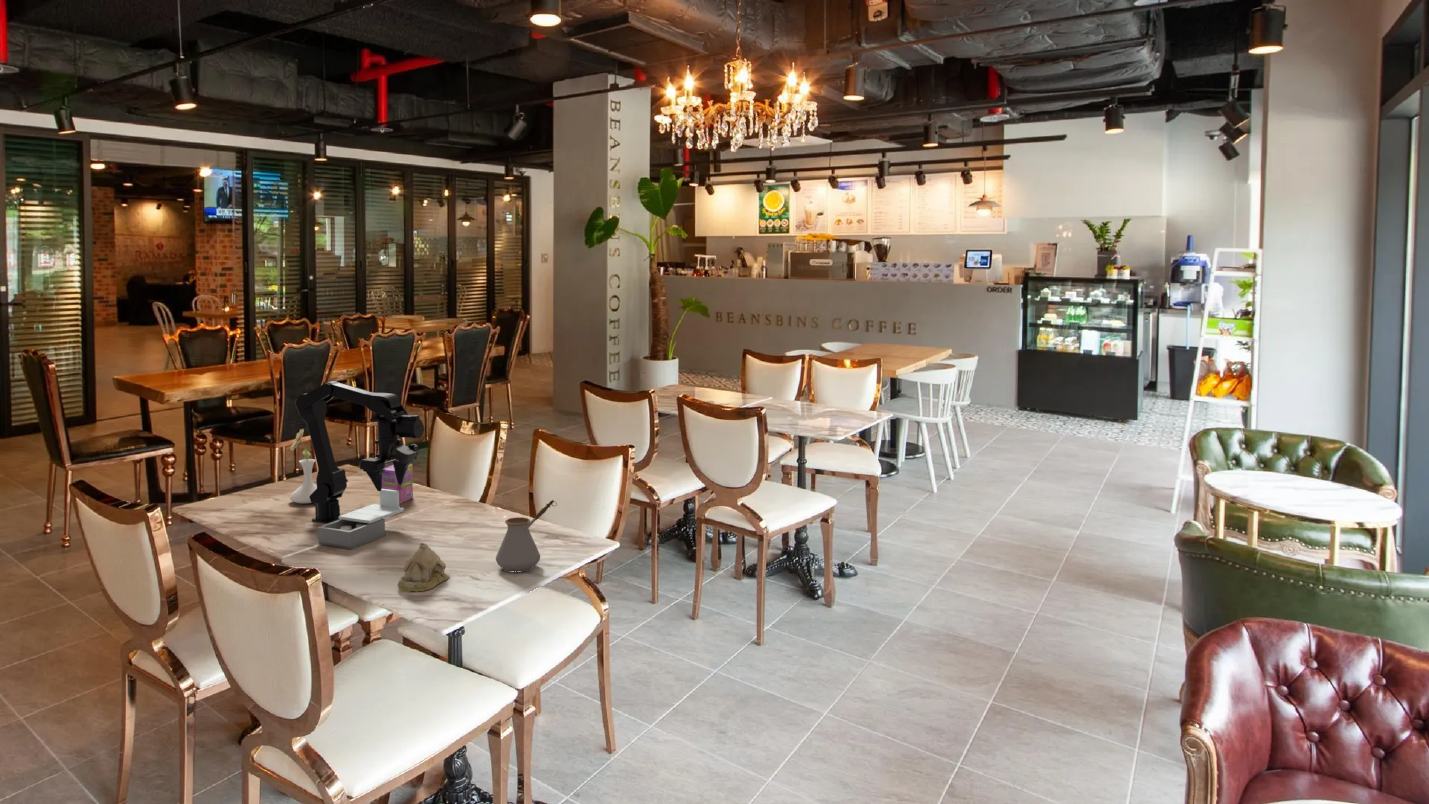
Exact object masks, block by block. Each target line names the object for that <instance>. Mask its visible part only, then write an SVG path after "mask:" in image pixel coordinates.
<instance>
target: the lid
mask: <svg viewBox="0 0 1429 804" xmlns="http://www.w3.org/2000/svg"><path fill="white" fill-rule="evenodd" d="M404 511H405V508H404V507H400V504H399V491H397V490H389V489H381V491H379V504H377V503H372V504H370V505H366V506H364V507H361V508H358V509H356V510H352V511H350V512H346V513H344V514H340V516H339V519H338V520H340V519H342V520H349V521H356V522H363V523H373V522H375V521H378V520H381V519H385V518H388V517H391V516H393V515H396V514H399V513H401V512H404Z"/></svg>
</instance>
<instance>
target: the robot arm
mask: <svg viewBox="0 0 1429 804" xmlns="http://www.w3.org/2000/svg"><path fill="white" fill-rule="evenodd" d="M333 398H336V399H340V400H343V401H347V402H351V403H355V404H358V405H361V406H364V407H365V408H367V409H368V410H369V411H371V412H372V413H374V416H373V417H371V418H369V419H370V422H371V423H373V422H375V423H376V425H377V439H376V440H374V444H375V445H377V447H378V448H377V449H378V452H377V453H375V454H374V456H375V457H367V458H364V459H362V460H360V462H359V470H362V471H363V472H365V473H366V474H367V476H368V477H369V479H370V481H371V482H372V485H373V486H374V487H375V489H376V491H377V492H380V491H381V489H382V474H383V473H384V471H385V470H386V469H384V468H386V467H385V466H386V464H390V463H392V465H394V470H395V474H396V478H397V481H398V484H402V482H403V479H404V476H405V473H406V470H407V467H408V466H409V465H410V464H413V463H414V461H415V460H417V457H418V456H419V447H418V445H417V444H416V443H412V444H410V445H404V444H403V440H402V439H401V438H405V439H407V438H408V439H420V438H422V436H424V435H423V434H424V432H425V431H424V430H425V425H424V422H423V421H422V419H420V415H419V414H413V415H410V414H409V413H408V412H407V410H406V409H405V407H404V406H403V405H402V402H401V401H400V399H399V396H398V395H397V394H395V393H388V392H371V391H369V390H365V389H361V388H359V387H355V386H351V385H348V384H343V383H342V382H341V383H340V382H339V381H335V380H331V381H327V382H324V383H323V384H321V385H320V386H319V387H317V388H315V389H313V390H311V391H310V392H307V393H302V394H300V395H298V396H297V397H296V400H295V407H296V410H297V413H298V414H299V416H300V417H301V419H302V420H303V421H304V422H305V423H306V426H307V428H308V429H307V430H308V433H309V436H310V437H309V438H310V441H311V444H312V448H313V452H314V457H315V460H316V461H315V462H316V465H317V468H318V469H317V474H316V479H315V482H316V484H315V485H317V489H316V490H315V491H314V492H313V493H312V494H311V495H310V496H309V497H310V500H311V503H310V504H314V506H315V507H314V509H315V511H314V512H315V513H314V514H315V517H313V518H311V521H312V522H318V523H325V524H329V523H332V522H335V521H337V520H340V519H339V516H341V511H340V510H341V505H340V504H339V501H340V500H339V498H342V497H343V493H344V492H345V491H346V489H347V487H348V485H347V484H348V483H347V482H349V480H348V479H347V476H346V470H345V469H344V468H343V469H340V468H339V467H338V466H337V465H336V461H335V457H334V453H333V449H332V446H331V441H330V437H329V433H328V430H327V425H326V421H325V420H326V415H327V411H328V407H327V403H328V402H329V401H331V400H332V399H333Z"/></svg>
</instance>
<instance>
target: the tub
mask: <svg viewBox="0 0 1429 804" xmlns="http://www.w3.org/2000/svg"><path fill="white" fill-rule="evenodd" d="M317 531H318V532H317V535H318V546H324V545H326V546H325V547H331V548H339V549H343V548H345V549H344V550H353V549H356V548H358V547H360V545H361V546H363V545H365V544H369V543H370V542H373V541H375V539H376V540H378V539H380V538H383V537H385V536H386V520H385V518H383V519H381V520H378V521H375V522H373V523H363V522H356V521H349V520H342V519H338V520H335V521H333V522H330V523H325V524H323V525H321V526H318V527H317Z"/></svg>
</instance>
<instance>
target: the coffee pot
mask: <svg viewBox="0 0 1429 804" xmlns="http://www.w3.org/2000/svg"><path fill="white" fill-rule="evenodd" d="M554 503H555V505H553V504H554ZM551 506H553V507H557V506H558V503H557V502H556V501H554V499H552V500H550V501H549V502H548V503H546V505H545V506H544V507H543V508H541V510H539V512H537V514H536V515H535V516H534V517H533V519H530V518H528V517H518V516H517V517H511V518H506V519H505V522H504V523H505V524H506V525H507V530H506V533H505V534H504V537H503V539H502V542H501V544H500V547H499V549H498V551H497V553H496V556H495V562H496V563H497V565H498V566H499V567H500V568H501V569H503V568H504V569H503V571H505V570H506V571H505V572H507V571H514V572H515V571H516V572H517V571H526V572H528V571H527V570H529V569H531V568H532V567H533V568H534V567H535V566H536V565H537V564H538V563H539V562H540V560H541V554H540V552H539V549H538V547H537V545H536V543H535V540H534V538H533V536H532V534H531V532H530V530H529V528H531V526H532V525H533V524H534V523H535V522H536V521H537V520H539V518H540V517H541V516H544V514H545V513H546V511H548V509H549V508H551ZM533 568H532V569H533ZM532 569H531V570H532ZM529 571H530V570H529ZM514 572H513V573H514Z"/></svg>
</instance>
